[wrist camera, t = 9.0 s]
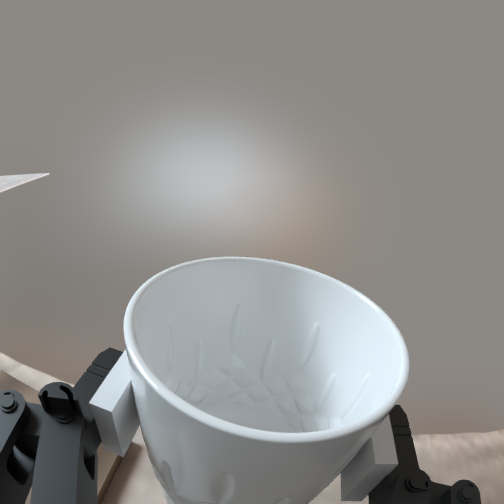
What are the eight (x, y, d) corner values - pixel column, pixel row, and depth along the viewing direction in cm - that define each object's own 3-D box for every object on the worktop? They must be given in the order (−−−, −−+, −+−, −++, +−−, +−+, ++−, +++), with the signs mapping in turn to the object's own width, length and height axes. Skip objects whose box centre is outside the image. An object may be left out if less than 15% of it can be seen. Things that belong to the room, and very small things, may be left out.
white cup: (120, 514, 10) (57, 359, 6) (183, 403, 17) (193, 239, 13) (297, 566, 8) (433, 463, 4) (318, 440, 16) (390, 286, 12)
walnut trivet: (130, 441, 24) (129, 432, 23) (72, 563, 11) (66, 560, 11) (5, 379, 25) (1, 369, 24) (-64, 461, 12) (-72, 452, 12)
